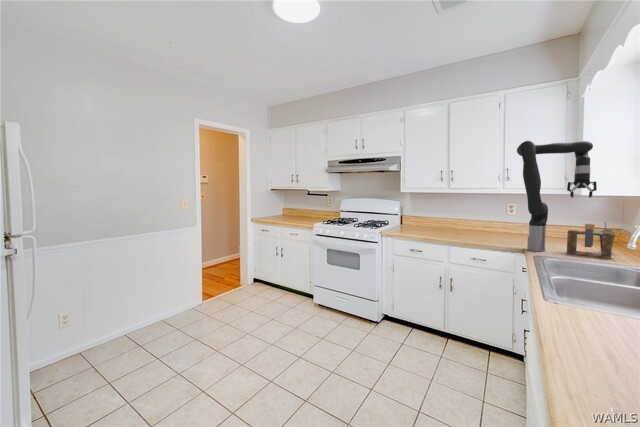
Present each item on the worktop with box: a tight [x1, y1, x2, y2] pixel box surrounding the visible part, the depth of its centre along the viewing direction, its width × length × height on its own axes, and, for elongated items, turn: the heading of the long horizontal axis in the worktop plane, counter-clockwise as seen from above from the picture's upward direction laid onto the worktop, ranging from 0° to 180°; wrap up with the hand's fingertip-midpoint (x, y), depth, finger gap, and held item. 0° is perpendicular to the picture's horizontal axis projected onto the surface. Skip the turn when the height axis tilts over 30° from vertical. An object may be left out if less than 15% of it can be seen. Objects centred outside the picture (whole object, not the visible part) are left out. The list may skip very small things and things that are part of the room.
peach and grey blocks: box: [584, 222, 596, 248], centre depth 179 cm, size 4×9×14 cm, turn 132°
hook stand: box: [565, 229, 613, 260], centre depth 180 cm, size 20×10×15 cm, turn 42°
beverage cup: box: [599, 222, 616, 253], centre depth 186 cm, size 7×7×20 cm
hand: (581, 197), depth 190 cm, fingers open, 8 cm apart
